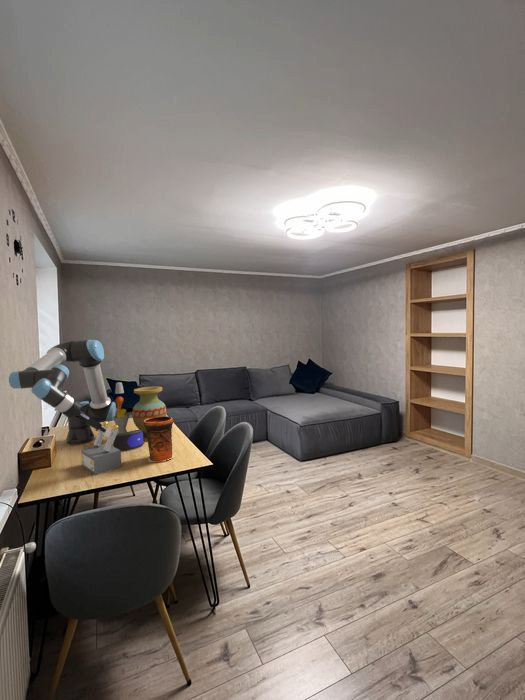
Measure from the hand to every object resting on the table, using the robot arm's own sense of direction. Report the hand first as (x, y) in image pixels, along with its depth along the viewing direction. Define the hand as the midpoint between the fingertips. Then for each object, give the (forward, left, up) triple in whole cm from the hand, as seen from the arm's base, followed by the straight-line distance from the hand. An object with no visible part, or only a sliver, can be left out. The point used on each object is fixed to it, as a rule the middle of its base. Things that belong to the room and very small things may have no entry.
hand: (109, 434), depth 162 cm
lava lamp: (-37, +22, -16) cm, 46 cm away
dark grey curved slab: (-21, +18, -16) cm, 32 cm away
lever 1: (-12, -2, -8) cm, 15 cm away
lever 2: (0, -2, -8) cm, 8 cm away
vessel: (+7, +22, -16) cm, 28 cm away
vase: (-29, +36, -16) cm, 49 cm away
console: (-6, -2, -16) cm, 17 cm away
